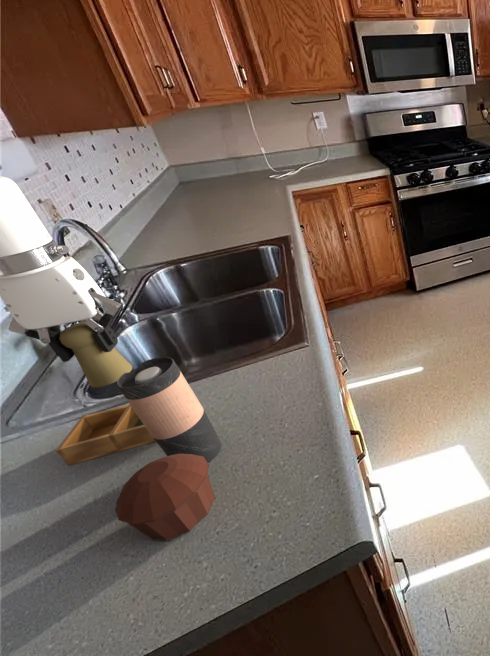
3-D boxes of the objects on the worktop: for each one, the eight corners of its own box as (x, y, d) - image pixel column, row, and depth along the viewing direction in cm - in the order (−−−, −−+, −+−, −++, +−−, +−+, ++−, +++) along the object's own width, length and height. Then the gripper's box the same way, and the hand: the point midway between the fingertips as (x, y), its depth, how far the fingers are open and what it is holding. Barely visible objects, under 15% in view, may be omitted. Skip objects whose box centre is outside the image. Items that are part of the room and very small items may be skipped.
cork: (82, 391, 72) (41, 340, 67) (102, 369, 77) (66, 320, 72) (121, 382, 73) (85, 332, 68) (139, 360, 78) (106, 312, 73)
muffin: (120, 558, 60) (82, 517, 56) (161, 489, 70) (131, 449, 65) (208, 538, 62) (177, 496, 57) (236, 473, 72) (212, 433, 67)
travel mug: (218, 463, 74) (165, 378, 65) (168, 480, 72) (106, 394, 62) (227, 432, 80) (180, 350, 71) (181, 446, 78) (127, 364, 69)
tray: (68, 465, 76) (55, 450, 74) (93, 430, 83) (81, 416, 81) (171, 436, 80) (161, 422, 78) (186, 406, 88) (177, 391, 86)
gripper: (105, 239, 69) (157, 328, 77) (-26, 260, 65) (45, 352, 73) (80, 257, 62) (140, 351, 71) (-67, 282, 58) (16, 379, 67)
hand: (91, 351), depth 72 cm, fingers closed on cork, 5 cm apart
